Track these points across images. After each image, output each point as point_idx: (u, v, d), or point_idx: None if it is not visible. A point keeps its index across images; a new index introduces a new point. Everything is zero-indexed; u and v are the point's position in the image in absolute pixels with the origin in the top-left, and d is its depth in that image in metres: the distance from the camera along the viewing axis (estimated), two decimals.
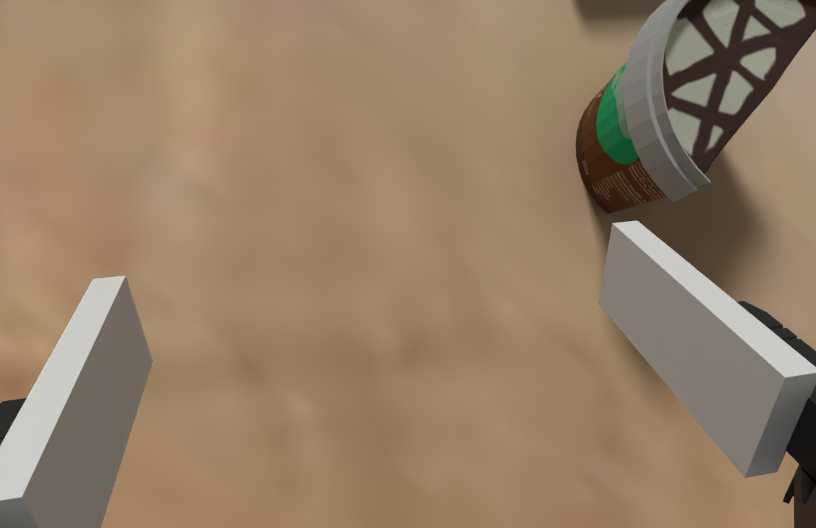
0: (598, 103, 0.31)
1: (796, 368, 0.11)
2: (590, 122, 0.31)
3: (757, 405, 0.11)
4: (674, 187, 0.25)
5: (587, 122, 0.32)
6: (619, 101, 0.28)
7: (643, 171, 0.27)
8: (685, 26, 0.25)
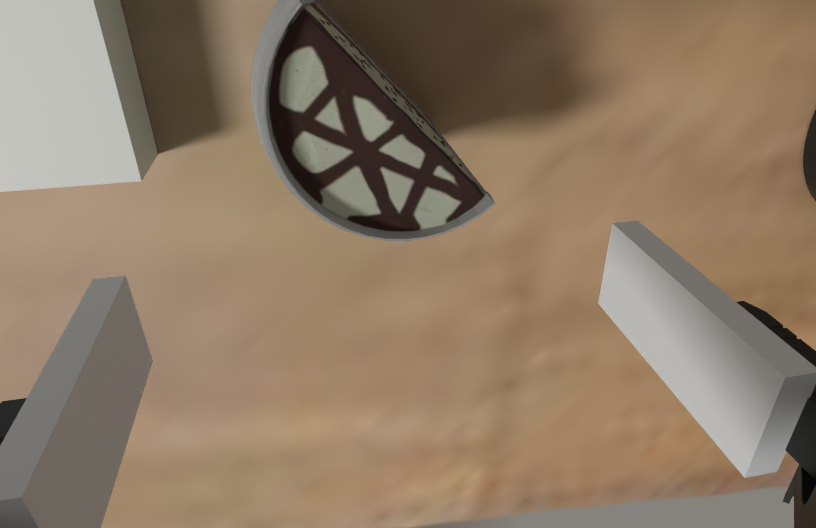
0: None
1: (796, 368, 0.11)
2: None
3: (757, 405, 0.11)
4: None
5: None
6: None
7: None
8: (329, 193, 0.25)
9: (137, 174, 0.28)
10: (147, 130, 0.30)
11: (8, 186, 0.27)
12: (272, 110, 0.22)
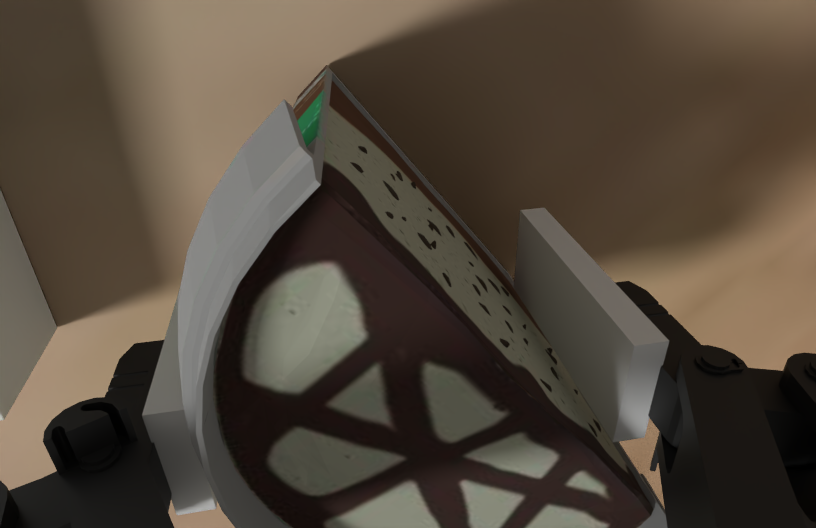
0: None
1: (647, 337, 0.12)
2: None
3: (618, 373, 0.12)
4: None
5: None
6: None
7: None
8: (345, 524, 0.11)
9: None
10: (28, 300, 0.17)
11: None
12: (222, 395, 0.09)
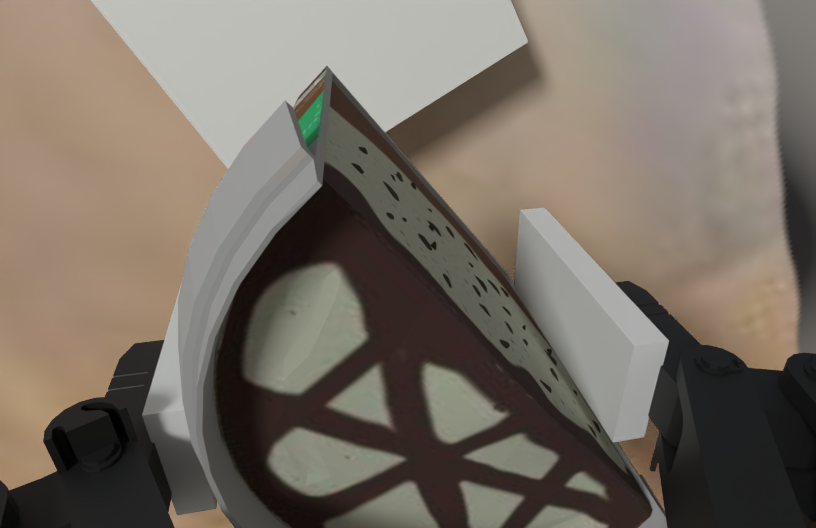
0: None
1: (647, 338, 0.12)
2: None
3: (618, 373, 0.12)
4: None
5: None
6: None
7: None
8: (344, 525, 0.11)
9: None
10: None
11: (188, 112, 0.27)
12: (223, 395, 0.09)
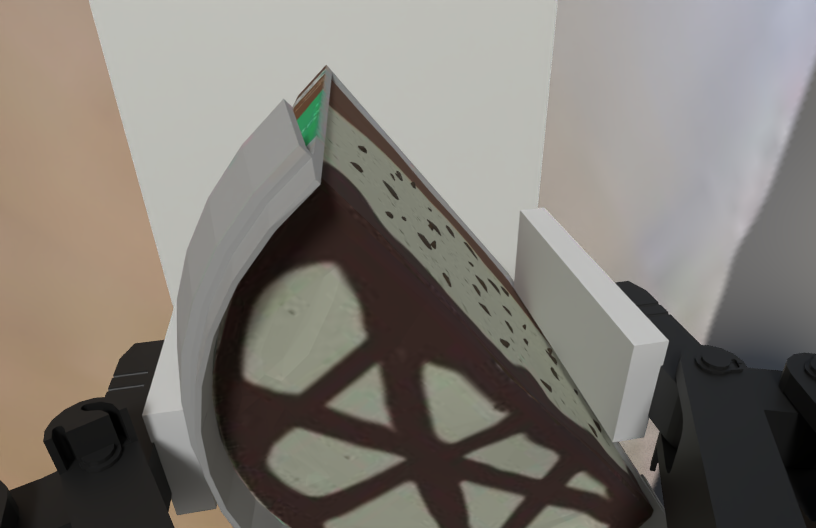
0: None
1: (647, 338, 0.12)
2: None
3: (618, 373, 0.12)
4: None
5: None
6: None
7: None
8: (344, 525, 0.11)
9: None
10: None
11: (163, 248, 0.23)
12: (221, 395, 0.09)
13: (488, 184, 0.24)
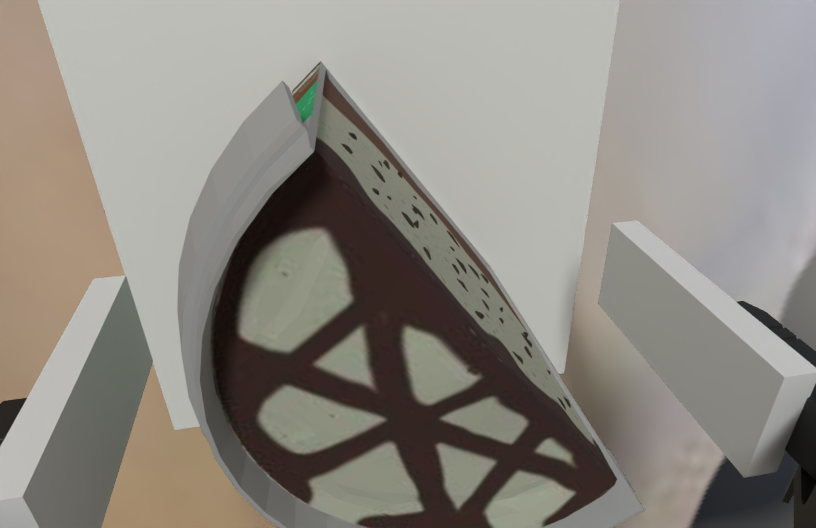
0: None
1: (795, 368, 0.11)
2: None
3: (757, 405, 0.11)
4: None
5: None
6: None
7: None
8: (328, 484, 0.12)
9: (182, 424, 0.22)
10: None
11: (141, 302, 0.19)
12: (218, 350, 0.10)
13: (526, 224, 0.20)
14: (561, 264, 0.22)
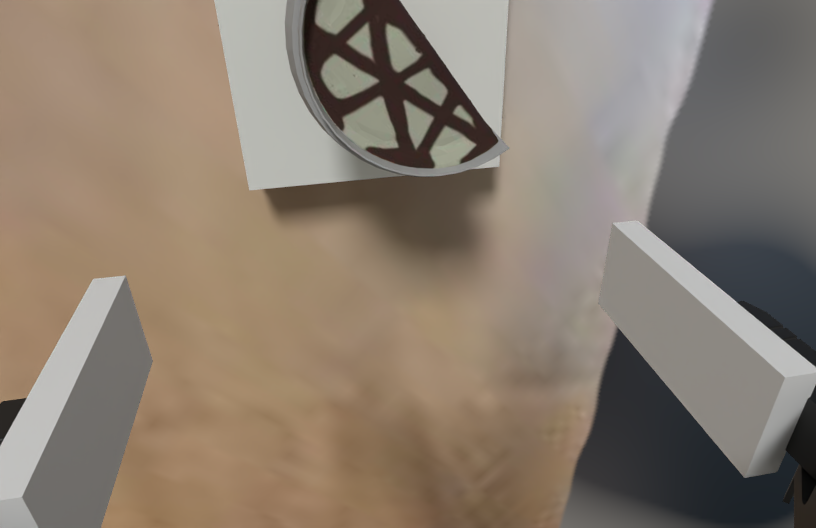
0: None
1: (796, 368, 0.11)
2: None
3: (757, 405, 0.11)
4: None
5: None
6: None
7: None
8: (351, 120, 0.25)
9: (254, 187, 0.35)
10: None
11: (235, 93, 0.32)
12: (306, 29, 0.23)
13: (468, 51, 0.33)
14: (491, 82, 0.35)
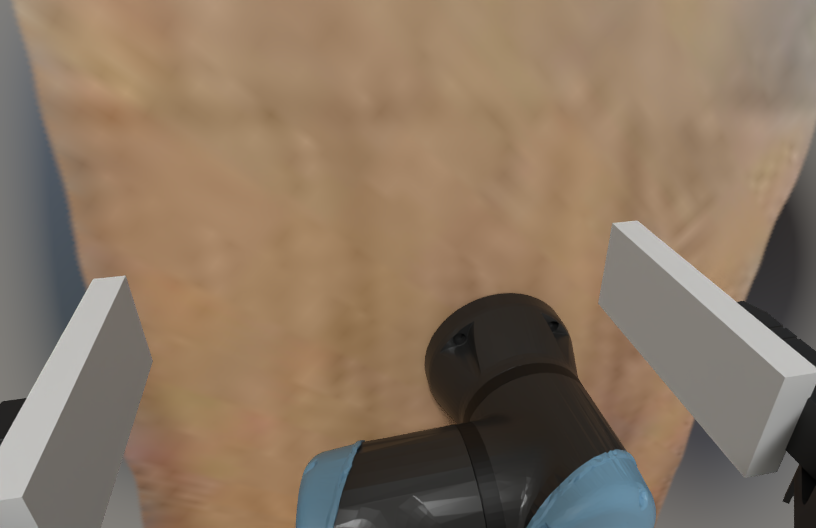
0: None
1: (796, 368, 0.11)
2: None
3: (757, 405, 0.11)
4: None
5: None
6: None
7: None
8: None
9: None
10: None
11: None
12: None
13: None
14: None
